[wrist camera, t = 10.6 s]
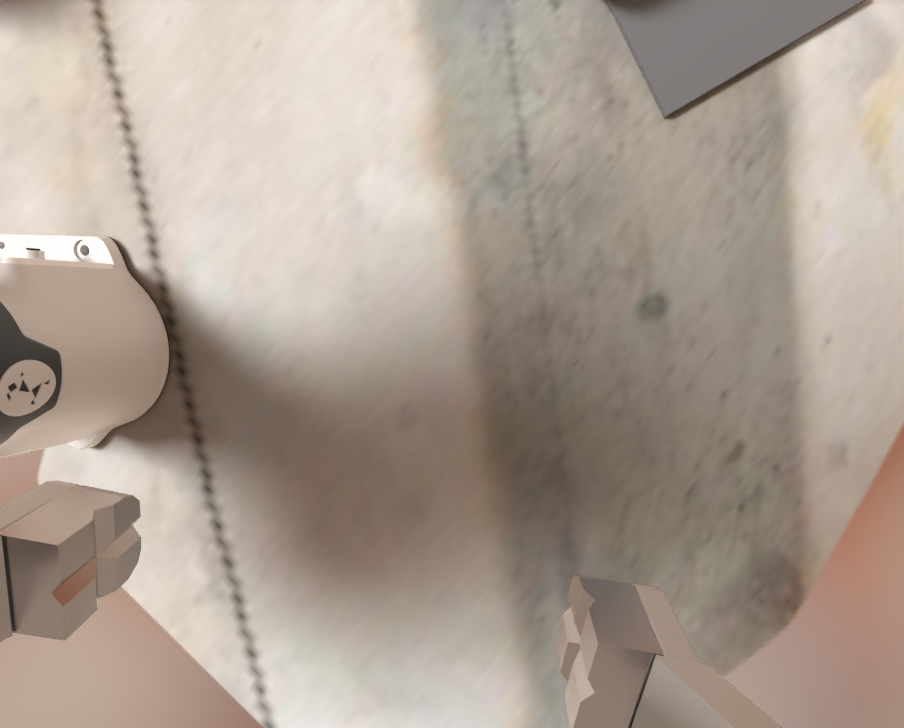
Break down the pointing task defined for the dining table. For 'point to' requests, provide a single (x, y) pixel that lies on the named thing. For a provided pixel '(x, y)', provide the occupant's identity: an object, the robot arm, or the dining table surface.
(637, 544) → the dining table surface
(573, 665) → the robot arm
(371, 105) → the dining table surface
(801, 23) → the mat
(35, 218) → the dining table surface
